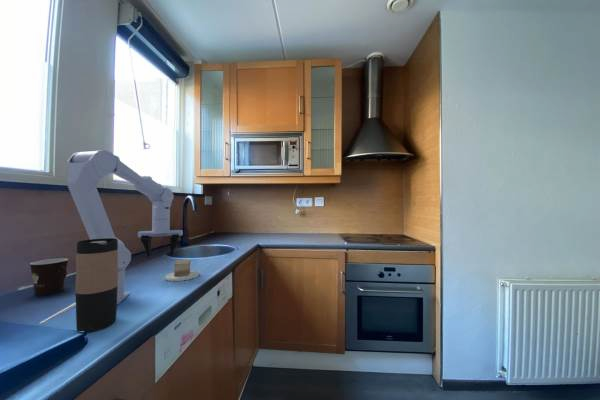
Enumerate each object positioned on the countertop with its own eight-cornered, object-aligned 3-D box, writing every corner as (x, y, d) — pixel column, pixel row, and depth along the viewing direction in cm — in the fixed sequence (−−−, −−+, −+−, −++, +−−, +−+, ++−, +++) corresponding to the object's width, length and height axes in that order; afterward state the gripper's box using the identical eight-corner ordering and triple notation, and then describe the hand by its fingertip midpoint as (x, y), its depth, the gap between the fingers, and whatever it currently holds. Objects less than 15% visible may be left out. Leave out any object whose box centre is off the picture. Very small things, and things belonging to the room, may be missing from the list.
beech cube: (188, 275, 94) (188, 262, 94) (174, 276, 92) (174, 263, 92) (190, 272, 99) (190, 260, 99) (176, 273, 97) (176, 260, 97)
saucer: (197, 279, 91) (197, 277, 91) (161, 282, 88) (161, 280, 88) (200, 271, 103) (200, 269, 103) (168, 273, 99) (168, 271, 99)
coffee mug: (30, 292, 79) (30, 261, 79) (66, 285, 85) (67, 257, 85) (28, 302, 71) (29, 267, 71) (69, 294, 77) (69, 262, 77)
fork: (32, 327, 58) (32, 319, 58) (94, 294, 78) (94, 288, 78) (47, 326, 58) (47, 318, 58) (105, 293, 78) (105, 288, 78)
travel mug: (88, 319, 60) (89, 238, 60) (123, 316, 62) (124, 237, 62) (66, 335, 52) (67, 243, 53) (106, 331, 54) (107, 242, 55)
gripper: (183, 218, 97) (183, 252, 97) (142, 219, 92) (142, 254, 92) (180, 219, 90) (180, 255, 90) (136, 220, 86) (135, 258, 85)
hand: (160, 255), depth 91 cm, fingers open, 7 cm apart
